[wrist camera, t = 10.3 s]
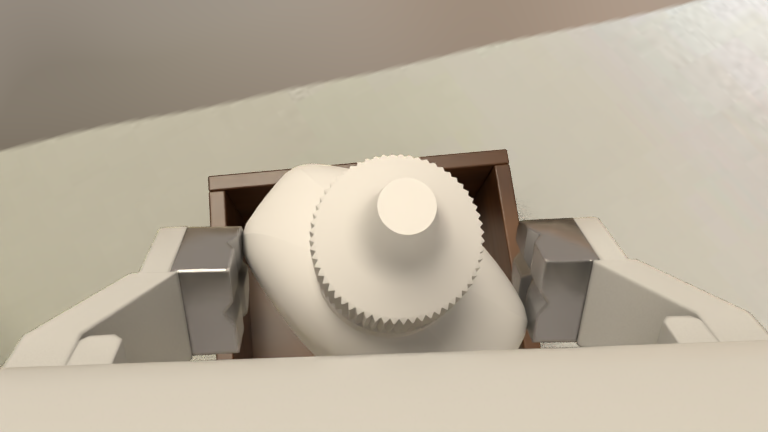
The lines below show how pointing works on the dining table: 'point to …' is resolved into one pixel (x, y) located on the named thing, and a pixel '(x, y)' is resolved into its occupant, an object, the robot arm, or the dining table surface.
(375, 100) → the dining table surface
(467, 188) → the wooden box
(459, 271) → the eye dropper bottle
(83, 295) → the dining table surface
